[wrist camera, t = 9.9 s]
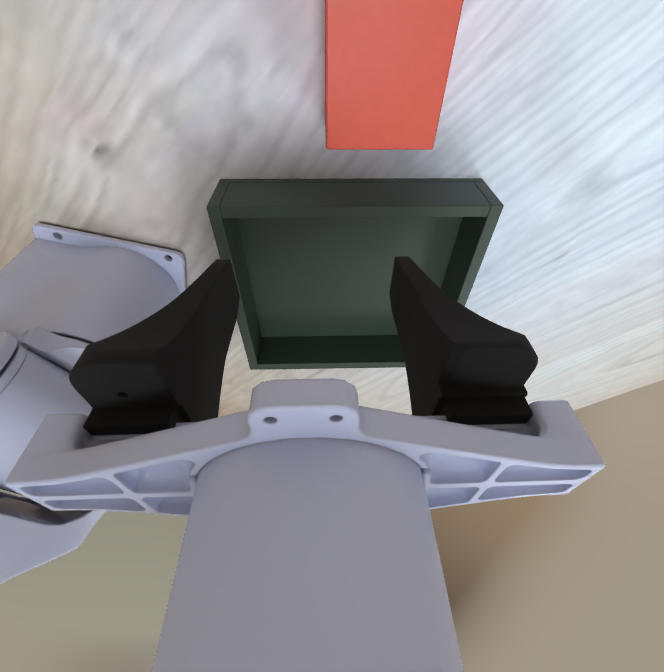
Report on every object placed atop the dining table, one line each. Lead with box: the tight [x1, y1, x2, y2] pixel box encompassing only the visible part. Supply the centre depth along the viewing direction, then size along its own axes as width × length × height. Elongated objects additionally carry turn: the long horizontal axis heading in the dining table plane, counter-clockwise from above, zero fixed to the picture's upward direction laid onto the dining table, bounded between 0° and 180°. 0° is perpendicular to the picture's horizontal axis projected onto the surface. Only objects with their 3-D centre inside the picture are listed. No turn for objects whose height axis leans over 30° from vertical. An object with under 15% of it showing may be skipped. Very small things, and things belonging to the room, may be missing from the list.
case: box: [325, 0, 463, 149], centre depth 14 cm, size 5×9×4 cm, turn 0°
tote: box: [207, 179, 503, 370], centre depth 25 cm, size 16×14×4 cm
